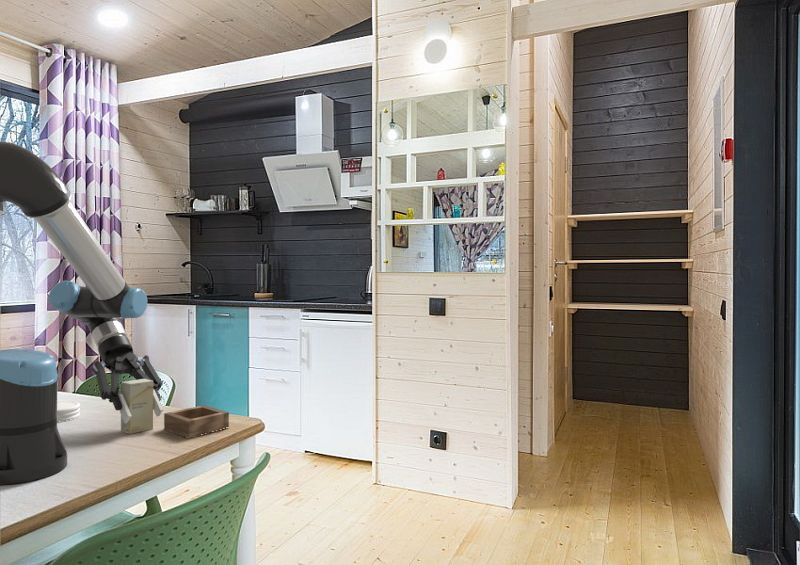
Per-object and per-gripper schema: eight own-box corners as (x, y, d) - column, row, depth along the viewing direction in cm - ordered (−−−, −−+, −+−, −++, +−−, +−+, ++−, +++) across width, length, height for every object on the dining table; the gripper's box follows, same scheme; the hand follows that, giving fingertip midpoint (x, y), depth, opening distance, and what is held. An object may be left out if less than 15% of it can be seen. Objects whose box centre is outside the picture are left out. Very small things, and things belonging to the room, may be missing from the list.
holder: (188, 438, 135) (188, 421, 134) (164, 429, 141) (164, 413, 141) (228, 428, 143) (228, 412, 143) (203, 420, 150) (203, 405, 150)
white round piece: (65, 424, 145) (65, 410, 145) (27, 423, 146) (26, 409, 146) (87, 414, 155) (87, 401, 155) (51, 413, 156) (51, 400, 156)
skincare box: (129, 434, 137) (129, 384, 136) (120, 431, 139) (119, 381, 139) (154, 428, 142) (154, 380, 141) (144, 425, 144) (144, 377, 144)
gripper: (145, 348, 157) (177, 416, 148) (66, 356, 142) (96, 434, 132) (155, 330, 154) (188, 399, 144) (75, 337, 138) (107, 415, 129)
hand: (144, 416), depth 138 cm, fingers open, 7 cm apart
